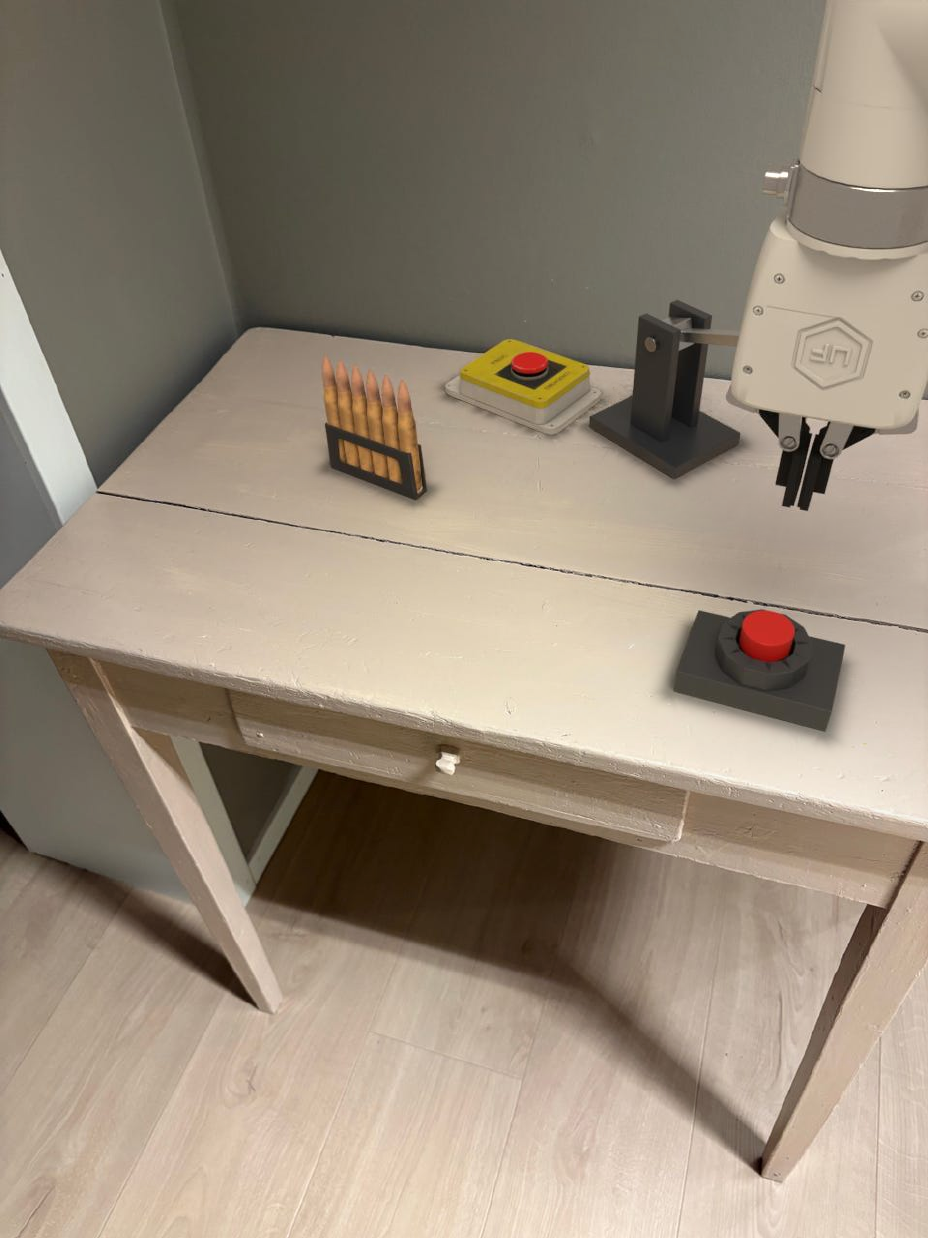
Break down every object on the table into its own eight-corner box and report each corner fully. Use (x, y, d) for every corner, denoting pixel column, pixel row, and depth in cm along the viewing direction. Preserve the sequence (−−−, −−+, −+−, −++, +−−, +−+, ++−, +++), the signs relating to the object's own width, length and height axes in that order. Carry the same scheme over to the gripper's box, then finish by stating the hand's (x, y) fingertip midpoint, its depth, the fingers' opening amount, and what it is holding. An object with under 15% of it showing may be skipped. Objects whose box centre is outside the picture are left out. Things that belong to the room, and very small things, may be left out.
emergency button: (553, 398, 94) (438, 355, 101) (553, 436, 97) (441, 391, 104) (607, 359, 99) (493, 320, 106) (604, 396, 102) (494, 356, 109)
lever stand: (739, 443, 94) (760, 322, 86) (674, 479, 91) (689, 356, 82) (652, 395, 102) (663, 279, 93) (588, 426, 98) (593, 308, 89)
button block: (839, 664, 73) (851, 627, 70) (825, 731, 68) (837, 694, 66) (695, 629, 76) (701, 592, 74) (673, 691, 72) (678, 654, 69)
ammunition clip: (330, 467, 95) (310, 357, 87) (342, 457, 96) (323, 348, 88) (416, 500, 91) (404, 387, 82) (427, 490, 92) (417, 378, 83)
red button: (794, 634, 70) (798, 617, 69) (785, 667, 68) (790, 650, 67) (744, 622, 72) (748, 605, 70) (734, 655, 69) (738, 638, 68)
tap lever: (796, 345, 81) (794, 317, 80) (756, 365, 79) (754, 336, 78) (683, 337, 91) (679, 311, 90) (645, 354, 89) (641, 329, 88)
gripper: (702, 212, 48) (666, 506, 61) (1033, 248, 43) (919, 559, 56) (734, 160, 53) (694, 443, 65) (1035, 187, 48) (929, 486, 61)
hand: (798, 495), depth 61 cm, fingers closed
